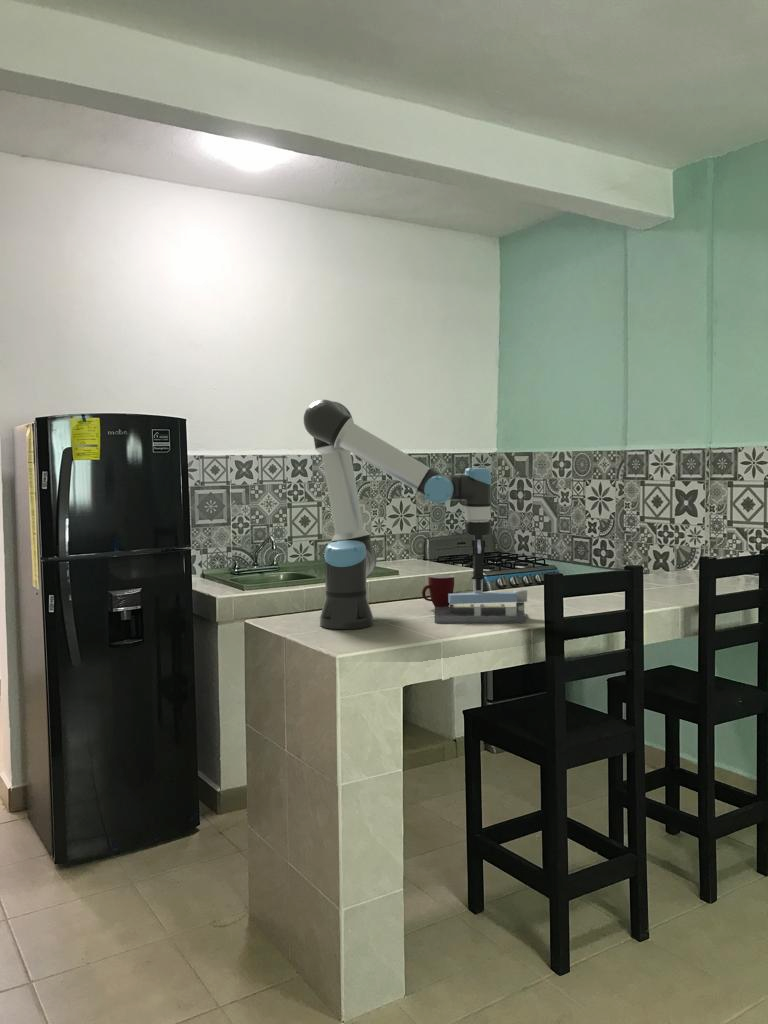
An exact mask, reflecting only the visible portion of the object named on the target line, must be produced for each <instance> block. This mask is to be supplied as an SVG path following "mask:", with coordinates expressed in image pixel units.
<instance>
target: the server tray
mask: <svg viewBox="0 0 768 1024" xmlns="http://www.w3.org/2000/svg"><path fill="white" fill-rule="evenodd" d="M474 604H475V603H467V604H450V605H449V607H435V606H434V624H512V623H513V624H514V623H515V624H526V623H527V615H526V613H525V602H515V606H505V604H503V603H501V604H500V603H479V606H475V605H474Z"/></svg>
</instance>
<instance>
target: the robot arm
mask: <svg viewBox="0 0 768 1024" xmlns="http://www.w3.org/2000/svg"><path fill="white" fill-rule="evenodd" d="M303 424H304V428H305V430H306V431H307V433H308V434H309V435H310V436H311V437H313V442H314V447H315V448H314V449H315V451H317V453H319V454H320V455H321V458H322V463H323V469H324V477H325V481H326V488H327V492H328V493H327V494H328V498H329V505H330V510H331V515H332V521H333V526H334V536H333V537H332V538H331V542H330V543H328V544H327V545H326V546H325V549H324V557H323V558H324V569H325V571H324V573H325V575H324V576H325V577H324V578H325V580H324V581H325V598H324V602H323V606H322V610H321V613H320V617H319V625H320V627H322V628H326V629H330V630H331V629H332V630H354V629H363V628H368V627H371V626H373V625H374V615H373V613H372V610H371V606H370V604H369V600H368V597H367V578H368V577H369V576H371V574H372V573H373V572H374V570H375V569H376V565H377V561H378V560H377V559H378V558H377V553H376V550H375V548H374V547H373V545H372V540H371V534H370V532H369V531H367V530H366V529H365V527H364V522H363V518H362V516H363V515H362V512H361V506H360V500H359V494H358V489H357V482H356V477H355V472H354V465H353V461H352V460H353V459H352V454H353V455H354V456H356V457H358V458H360V459H361V460H363V461H364V462H366V463H368V464H370V465H372V466H373V467H375V468H377V469H378V470H379V471H381V472H384V473H386V474H387V475H389V476H390V477H391V478H394V479H396V480H397V481H399V482H400V483H402V484H403V485H406V486H407V487H409V488H411V489H412V490H414V491H415V492H417V493H419V494H421V495H422V496H423V497H424V499H425V500H426V501H430V502H432V503H434V504H437V505H438V504H443V503H446V502H448V501H464V502H465V503H464V519H465V520H466V521H465V523H464V527H465V528H464V533H465V535H469V536H470V535H471V536H473V539H471V541H470V545H471V554H472V562H473V563H472V565H473V566H472V567H473V568H472V570H473V571H472V576H471V580H473V581H472V582H473V583H472V585H473V589H472V590H473V591H472V593H484V579H485V574H484V557H485V547H486V540H485V539H483V538H484V537H483V536H488V535H490V534H492V522H491V521H490V520H492V519H491V518H492V513H493V512H494V510H493V509H492V506H491V505H492V477H491V475H492V474H491V470H490V469H489V468H487V467H468V468H465V470H464V474H463V473H462V474H442V473H440V472H438V471H436V470H434V469H432V468H431V467H429V466H427V465H426V464H424V463H423V462H421V461H420V460H419V461H418V460H417V459H416V458H413V456H410V455H409V454H407V453H405V452H404V451H402V450H400V449H398V448H396V447H395V446H393V445H391V444H390V443H388V442H387V441H385V440H383V439H381V438H380V437H378V436H376V435H375V434H373V433H371V432H369V430H367V429H364V428H362V427H361V426H359V425H358V424H355V421H354V418H353V416H352V413H351V412H350V411H349V409H348V408H347V407H345V405H344V404H342V403H340V402H338V401H333V400H329V399H319V400H315V401H313V402H311V404H309V405H308V407H307V408H306V409H305V412H304V414H303Z"/></svg>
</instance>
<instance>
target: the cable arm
mask: <svg viewBox="0 0 768 1024" xmlns="http://www.w3.org/2000/svg"><path fill="white" fill-rule="evenodd" d="M448 602H449V603H450V604H500V603H516V602H524V603H526V602H528V590H526V589H514V590H513V591H497V592H483V593H473V592H467V593H466V592H465V593H461V592H460V593H453V594H448Z"/></svg>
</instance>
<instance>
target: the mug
mask: <svg viewBox="0 0 768 1024" xmlns="http://www.w3.org/2000/svg"><path fill="white" fill-rule="evenodd" d="M427 582H428V584H427V585H424V586H423V588H422V590H421V595H422V598H423V599H424V600H425V601H427V602H431V603H432V604H433V607H434V608H435V607H450V603H449V602H448V594H454V589H455V576H454V575H451V574H432V575H429V576H428V581H427ZM428 589H429V594H430V598H428V597H427V596H426V592H427V590H428Z"/></svg>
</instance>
